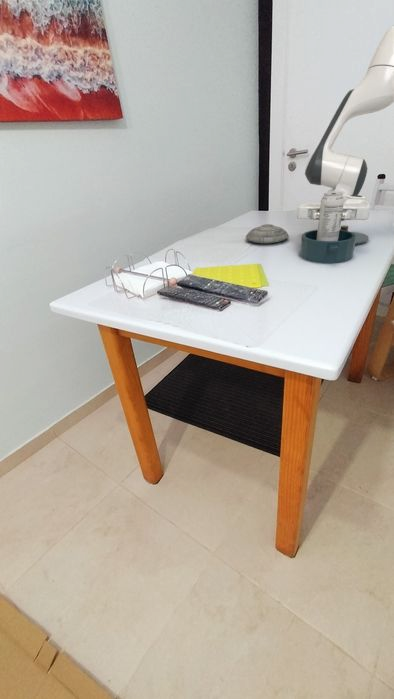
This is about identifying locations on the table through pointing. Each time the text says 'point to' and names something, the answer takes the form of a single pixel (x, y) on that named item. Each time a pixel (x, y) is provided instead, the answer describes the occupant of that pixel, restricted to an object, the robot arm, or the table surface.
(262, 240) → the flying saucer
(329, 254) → the pot
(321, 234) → the energy drink can
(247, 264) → the table surface
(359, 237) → the pot lid
